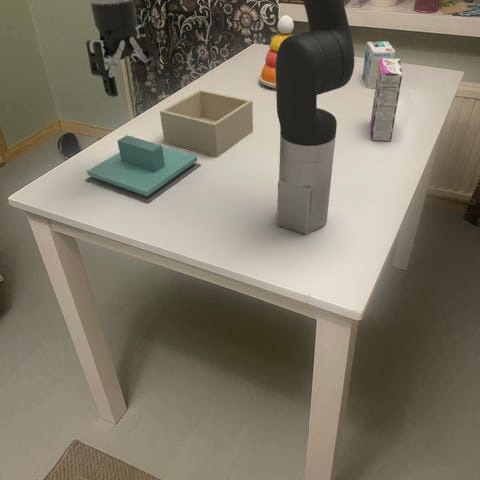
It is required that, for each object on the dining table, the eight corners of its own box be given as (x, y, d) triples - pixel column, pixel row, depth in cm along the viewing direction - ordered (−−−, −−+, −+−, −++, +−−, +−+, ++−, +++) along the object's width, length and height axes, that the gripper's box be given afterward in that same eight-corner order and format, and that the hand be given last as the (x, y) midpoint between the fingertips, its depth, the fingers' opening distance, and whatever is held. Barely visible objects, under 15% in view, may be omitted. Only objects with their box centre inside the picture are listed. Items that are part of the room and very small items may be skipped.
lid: (148, 200, 95) (142, 170, 91) (88, 179, 102) (81, 150, 98) (197, 164, 106) (195, 135, 102) (141, 147, 114) (136, 120, 109)
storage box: (217, 157, 109) (215, 125, 104) (164, 142, 116) (159, 111, 111) (252, 131, 120) (252, 100, 115) (202, 118, 127) (199, 89, 122)
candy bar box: (369, 122, 122) (378, 57, 112) (389, 123, 121) (400, 58, 111) (369, 141, 113) (380, 72, 103) (391, 142, 113) (403, 73, 102)
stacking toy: (270, 94, 139) (271, 24, 127) (252, 79, 150) (251, 13, 138) (313, 87, 143) (317, 18, 131) (292, 73, 154) (294, 8, 142)
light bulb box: (361, 76, 149) (366, 41, 142) (382, 76, 149) (388, 40, 142) (367, 89, 141) (372, 51, 134) (390, 88, 140) (396, 51, 134)
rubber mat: (148, 203, 95) (148, 202, 94) (85, 180, 103) (85, 179, 102) (201, 165, 106) (200, 164, 106) (141, 147, 114) (141, 146, 114)
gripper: (97, 7, 76) (116, 104, 86) (154, -9, 86) (166, 80, 96) (65, 4, 80) (87, 97, 89) (123, -11, 89) (138, 75, 99)
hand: (128, 88), depth 92 cm, fingers open, 8 cm apart
